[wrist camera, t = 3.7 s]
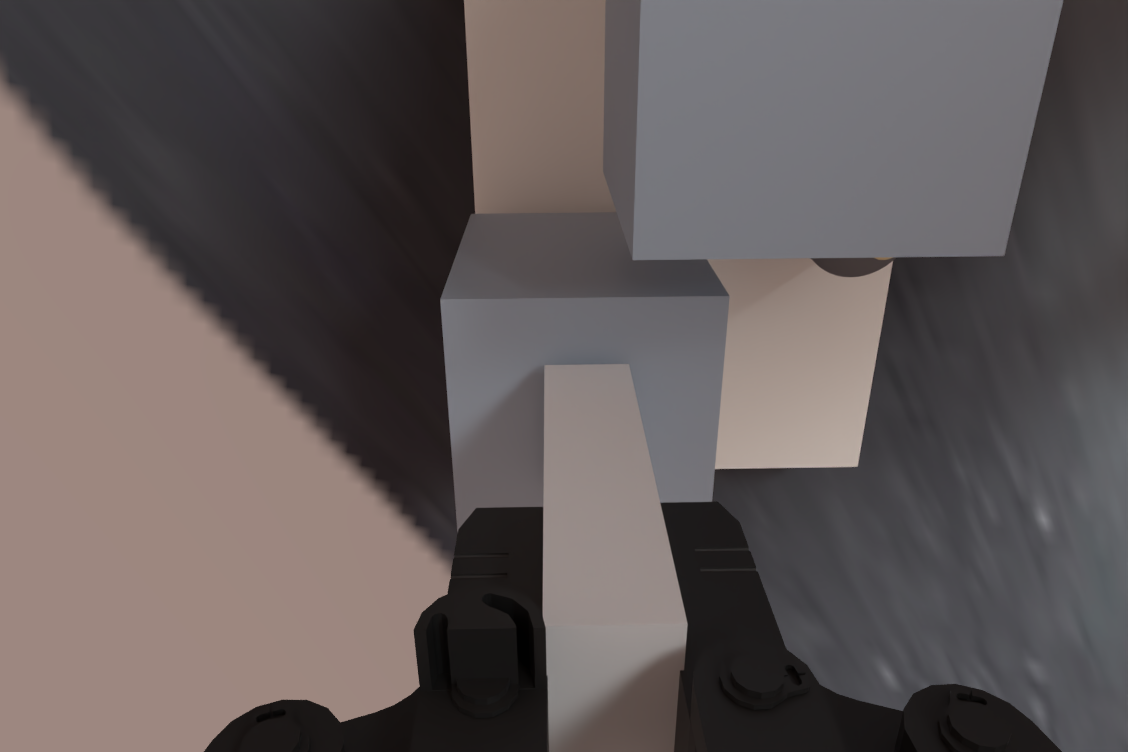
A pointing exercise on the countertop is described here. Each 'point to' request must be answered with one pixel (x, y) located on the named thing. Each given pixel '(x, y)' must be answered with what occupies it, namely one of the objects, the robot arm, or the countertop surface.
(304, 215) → the countertop surface
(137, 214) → the countertop surface
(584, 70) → the mount
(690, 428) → the knob
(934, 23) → the knob
